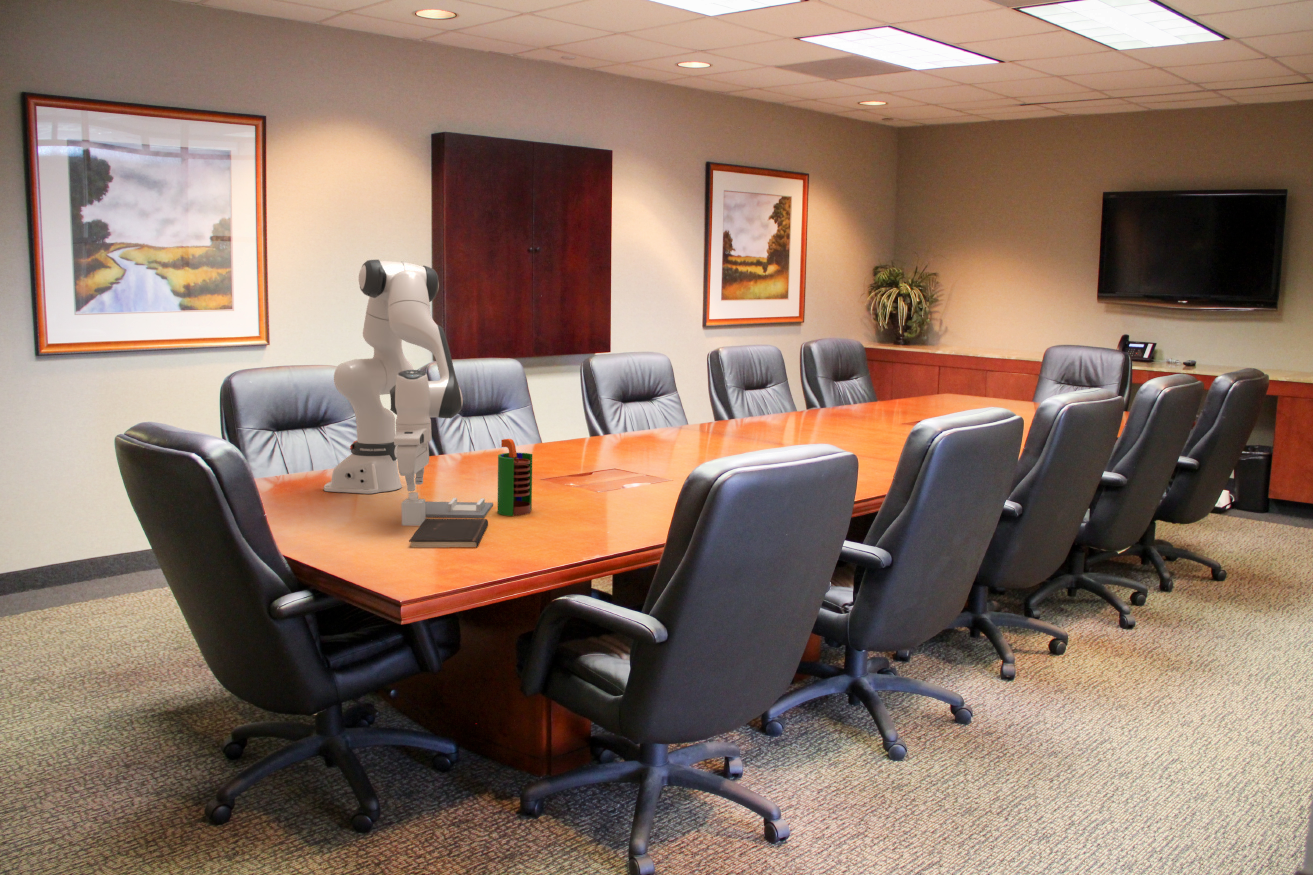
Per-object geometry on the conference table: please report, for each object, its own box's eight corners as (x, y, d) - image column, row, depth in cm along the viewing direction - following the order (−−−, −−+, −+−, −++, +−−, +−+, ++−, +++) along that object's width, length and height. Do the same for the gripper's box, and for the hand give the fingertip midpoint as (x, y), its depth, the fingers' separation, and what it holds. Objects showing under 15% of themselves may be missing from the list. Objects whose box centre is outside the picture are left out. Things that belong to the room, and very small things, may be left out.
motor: (523, 517, 284) (523, 443, 281) (492, 515, 286) (491, 441, 283) (535, 509, 294) (535, 437, 291) (504, 507, 295) (504, 436, 293)
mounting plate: (408, 516, 282) (408, 506, 281) (421, 504, 297) (421, 494, 297) (483, 518, 282) (483, 507, 281) (492, 505, 298) (492, 495, 297)
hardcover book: (409, 549, 250) (408, 540, 250) (425, 527, 273) (425, 518, 273) (477, 549, 251) (477, 540, 251) (488, 527, 274) (488, 518, 273)
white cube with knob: (401, 525, 272) (401, 494, 271) (406, 521, 277) (405, 491, 276) (421, 525, 272) (420, 495, 271) (425, 521, 277) (425, 491, 276)
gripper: (410, 429, 282) (411, 480, 283) (392, 439, 261) (393, 494, 263) (434, 429, 282) (435, 480, 283) (417, 439, 261) (419, 494, 263)
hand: (415, 487), depth 273 cm, fingers open, 8 cm apart
